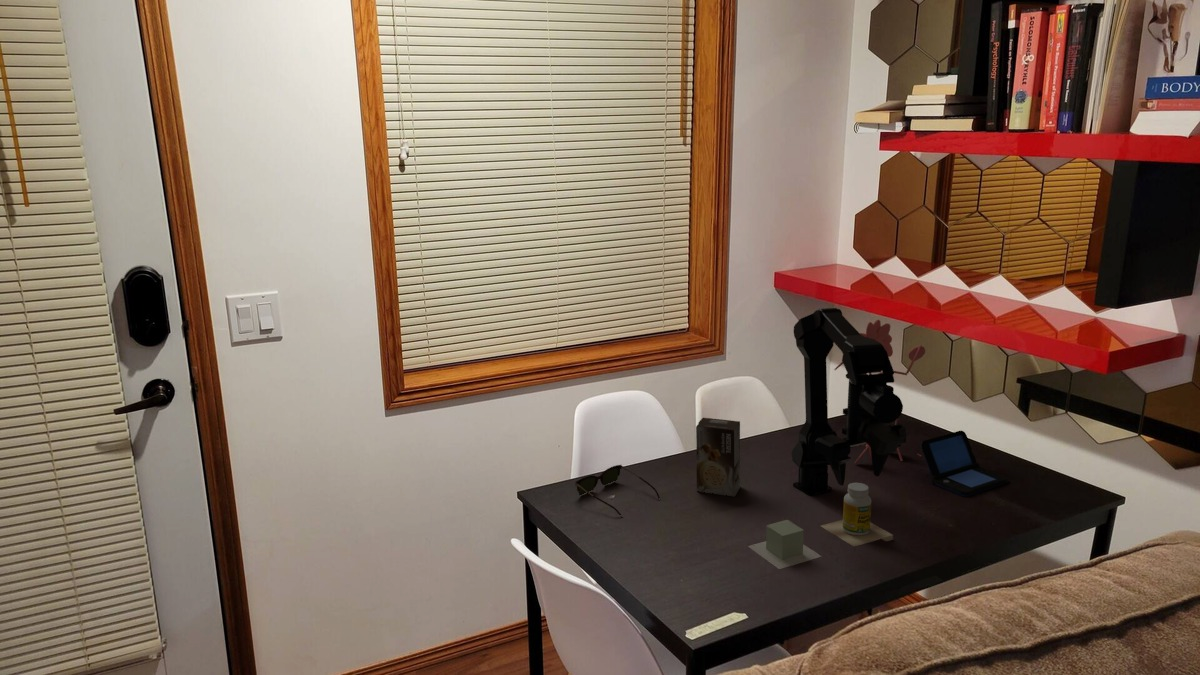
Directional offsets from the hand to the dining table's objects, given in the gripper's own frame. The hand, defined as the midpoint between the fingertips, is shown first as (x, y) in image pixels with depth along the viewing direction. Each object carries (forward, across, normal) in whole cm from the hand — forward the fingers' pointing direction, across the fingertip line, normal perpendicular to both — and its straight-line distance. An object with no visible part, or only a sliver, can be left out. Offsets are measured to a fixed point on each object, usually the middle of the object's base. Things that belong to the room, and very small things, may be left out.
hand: (858, 480), depth 169 cm
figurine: (+12, +31, +30) cm, 45 cm away
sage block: (+11, -18, 0) cm, 21 cm away
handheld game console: (+12, +40, +9) cm, 43 cm away
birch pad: (+12, 0, 0) cm, 12 cm away
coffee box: (+12, -12, +32) cm, 36 cm away
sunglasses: (+12, -34, +38) cm, 53 cm away
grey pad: (+12, -18, 0) cm, 22 cm away
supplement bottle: (+11, 0, 0) cm, 11 cm away
